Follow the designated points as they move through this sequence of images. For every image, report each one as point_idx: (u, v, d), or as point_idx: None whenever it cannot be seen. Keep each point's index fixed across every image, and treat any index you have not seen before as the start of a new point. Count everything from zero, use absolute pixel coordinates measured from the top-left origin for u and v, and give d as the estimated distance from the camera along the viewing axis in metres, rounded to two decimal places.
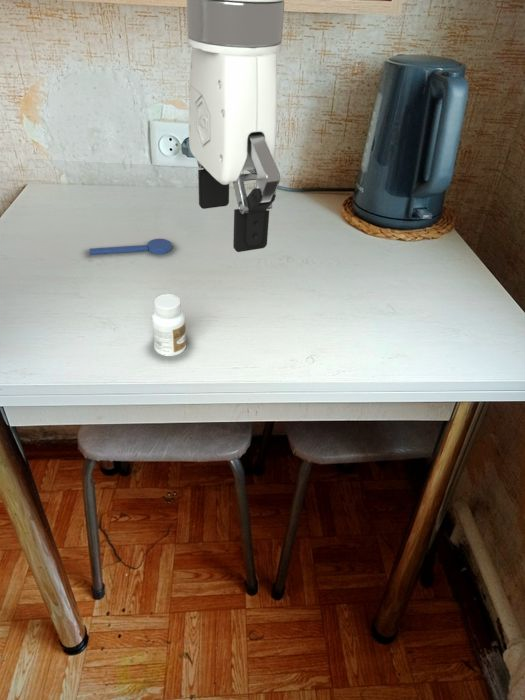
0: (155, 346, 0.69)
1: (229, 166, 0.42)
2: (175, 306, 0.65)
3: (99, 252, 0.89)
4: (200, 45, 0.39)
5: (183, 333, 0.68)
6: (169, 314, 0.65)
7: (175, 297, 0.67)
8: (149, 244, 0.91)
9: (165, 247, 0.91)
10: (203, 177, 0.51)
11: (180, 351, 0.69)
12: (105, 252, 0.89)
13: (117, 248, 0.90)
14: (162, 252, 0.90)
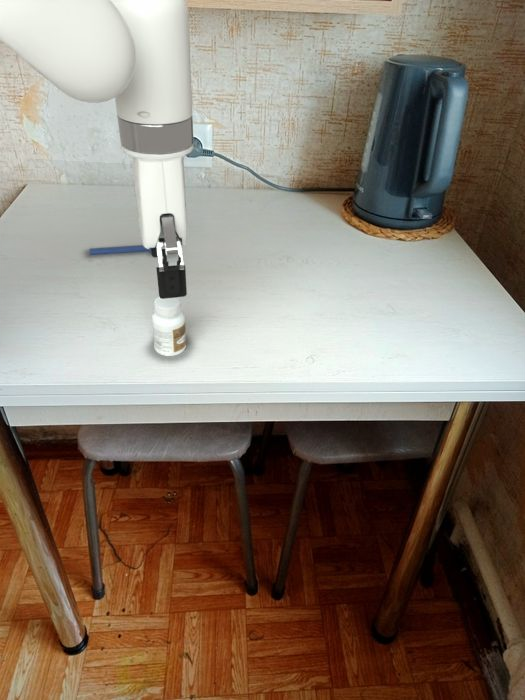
0: (155, 346, 0.69)
1: (147, 237, 0.54)
2: (175, 306, 0.65)
3: (99, 252, 0.89)
4: (125, 150, 0.52)
5: (183, 333, 0.68)
6: (169, 314, 0.65)
7: None
8: None
9: None
10: None
11: (180, 351, 0.69)
12: (105, 252, 0.89)
13: (117, 248, 0.90)
14: None
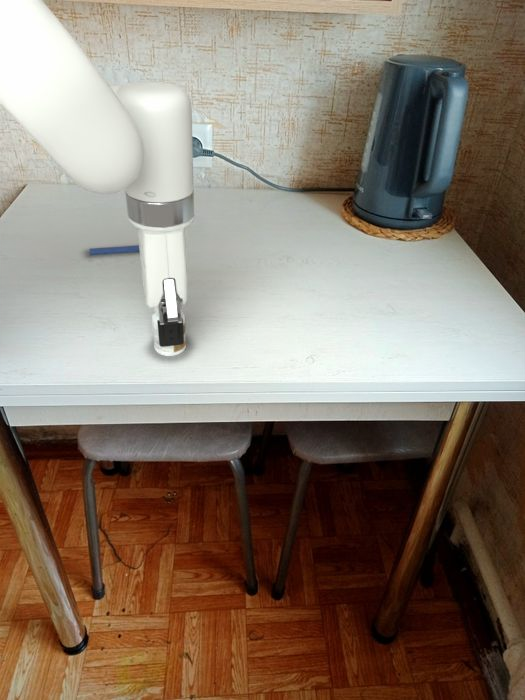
0: (155, 346, 0.69)
1: (150, 298, 0.59)
2: None
3: (99, 252, 0.89)
4: (131, 221, 0.56)
5: None
6: None
7: None
8: None
9: None
10: None
11: (180, 351, 0.69)
12: (105, 252, 0.89)
13: (117, 248, 0.90)
14: None
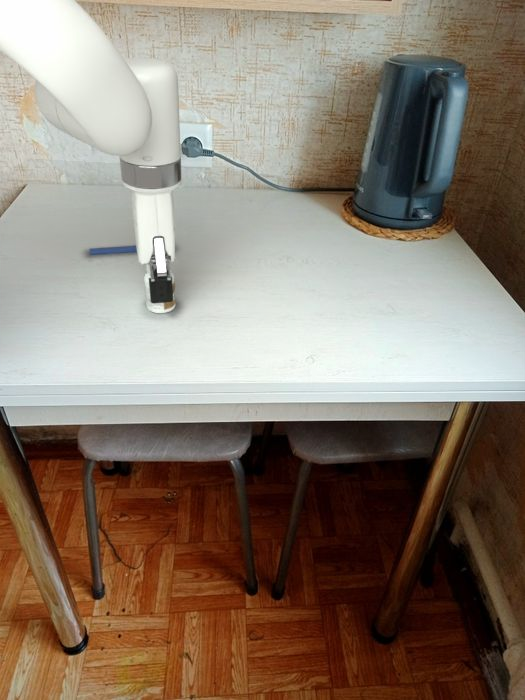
0: (147, 304, 0.76)
1: (142, 255, 0.66)
2: None
3: (99, 252, 0.89)
4: (125, 184, 0.63)
5: None
6: None
7: None
8: None
9: None
10: None
11: (170, 309, 0.76)
12: (105, 252, 0.89)
13: (117, 248, 0.90)
14: None
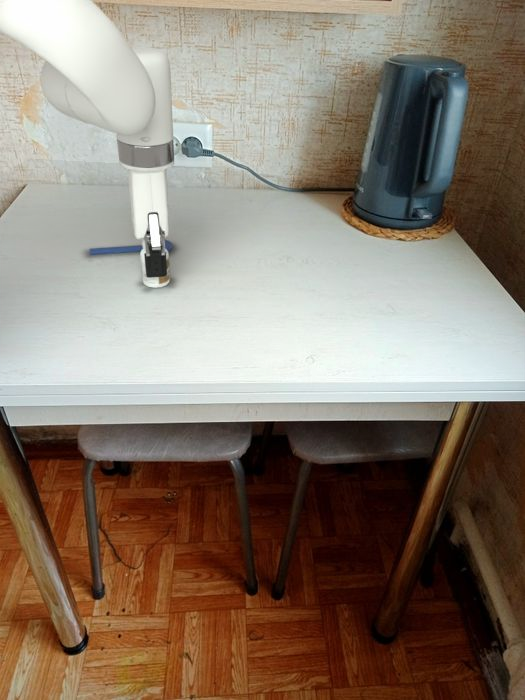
0: (143, 279, 0.81)
1: (137, 230, 0.71)
2: None
3: (99, 252, 0.89)
4: (122, 163, 0.69)
5: (167, 268, 0.80)
6: None
7: None
8: None
9: (165, 247, 0.91)
10: None
11: (164, 284, 0.82)
12: (105, 252, 0.89)
13: (117, 248, 0.90)
14: None
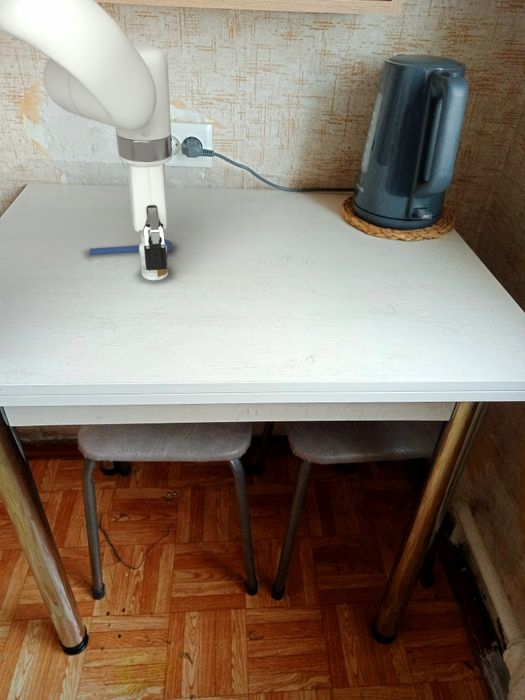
0: (142, 272, 0.84)
1: (137, 222, 0.74)
2: None
3: (99, 252, 0.89)
4: (121, 158, 0.71)
5: None
6: None
7: None
8: None
9: None
10: None
11: (163, 276, 0.84)
12: (105, 252, 0.89)
13: (117, 248, 0.90)
14: None
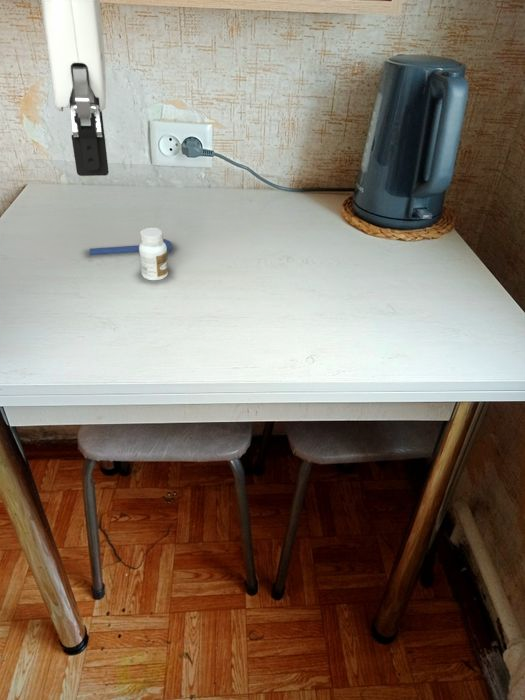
0: (142, 272, 0.84)
1: (57, 92, 0.48)
2: (158, 235, 0.80)
3: (99, 252, 0.89)
4: None
5: (165, 261, 0.83)
6: (153, 242, 0.80)
7: (158, 229, 0.81)
8: None
9: None
10: None
11: (163, 276, 0.84)
12: (105, 252, 0.89)
13: (117, 248, 0.90)
14: None
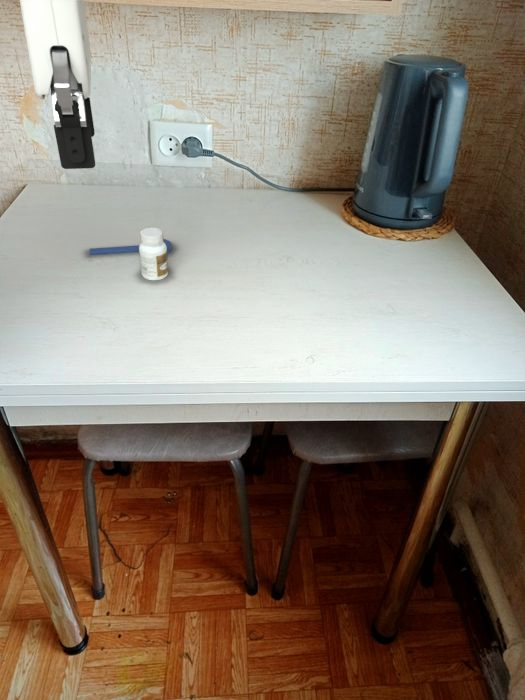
0: (142, 272, 0.84)
1: (37, 78, 0.45)
2: (158, 235, 0.80)
3: (99, 252, 0.89)
4: None
5: (165, 261, 0.83)
6: (153, 242, 0.80)
7: (158, 229, 0.81)
8: None
9: None
10: None
11: (163, 276, 0.84)
12: (105, 252, 0.89)
13: (117, 248, 0.90)
14: None
